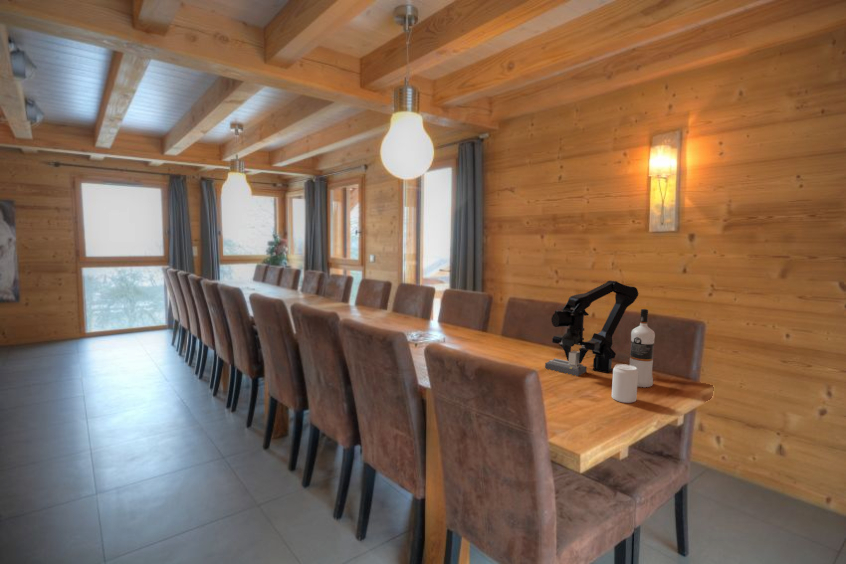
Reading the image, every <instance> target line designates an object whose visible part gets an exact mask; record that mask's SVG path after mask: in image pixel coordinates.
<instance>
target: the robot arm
mask: <svg viewBox="0 0 846 564" xmlns="http://www.w3.org/2000/svg"><path fill="white" fill-rule="evenodd" d="M611 293H615V296H614V298H615V303H614V305H613V307H612V309H611V311H610V313H609V315H608V316H607V319H606V321H605V323H604V325H603V326H602V329H601V331H599V332H598V333H596V332H594V333H593V334H592V337H591V339H590V340H587V341H585V337H584V331H585V327H584V321H585V316H589V315H590V314H589V313H588V312H587V311H586V310H587V309H588V308H589V307H590V306H591V304H592V303H593V302H595V301H597V300H600V299H601V298H603V297H605V296H607V295H609V294H611ZM639 294H640V293H639V291H638V288H637V287H635V286H631V285H625V284H624V283H620V282H618V281H617V280H607V281H606V282H604V283H603V284H601V285H599V286H596V287H595V288H593V289H591V290H589V291H587V292H584V293H578V294H575V295H572V296H569V298H568V300H567V302H566V304H565V305H564V306H563V307H562V309H561V310H556V309H555V311H554V313H553V314H552V317H551V324H552V326H553V327H554V328H560V327H561V328H563V327H564V328H565V327H568V328H567V329H566V333H564V334H563V335H562V334H556V335H554V336H552V338H551V343H553V344H559V347H561V348H562V349H563V351H564V355H565V357H566V361H569V352H571V351H572V347H574V346H575V345H576V346H581V347H579V348H578V350H579V352H580V356H579V363H580V364H582V362H583V361H584V359H585V357H586V354H587V352H588V351H591V352H592V354H593V355H594V358H593V365H592V370H594V371H597V372H601V373H607V374H608V373H610V372H611V371H612V372H613V368H612V365H613V363H612V361H613V359H615V357H616V355H617V354H616V352H615V351H614V350H613V349H612V346H613V336H614V333H615V331H616V329H617V328H618V326H619V323H620V321H621V320H622V318H623V316H624V314H625V312H626V310H627V308H628V307H629V306H631V305H632V304H633V303H634V302H636V300H637V299H638V296H639Z"/></svg>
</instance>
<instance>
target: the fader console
mask: <svg viewBox="0 0 846 564" xmlns="http://www.w3.org/2000/svg"><path fill="white" fill-rule="evenodd" d="M568 362H569V361H567V360H565V359H559V358H553V359H550V360H548V361H546V362H545V363H544V369H545V368H546V369H545V370H549V369H551V370H550V371H553V370H555V371H554V372H557V371H559V373H562V372H564V373H563V374H566V373H568V374H567V375H570V374H572V375H571V376H574V375H576V376H575V377H580V376H582V375H583V373H584V374H586V373H587V366H586V365H584V364H583V363H580V364H577V366H575V365H571V364H568ZM585 372H586V373H585ZM581 374H582V375H581ZM579 375H580V376H579Z"/></svg>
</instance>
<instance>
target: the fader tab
mask: <svg viewBox="0 0 846 564" xmlns="http://www.w3.org/2000/svg"><path fill="white" fill-rule="evenodd" d="M579 356H580V351H578V350H571V352H569V362H568V364H571V365H575V366H577V364H581V363H579Z"/></svg>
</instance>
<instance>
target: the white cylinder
mask: <svg viewBox="0 0 846 564" xmlns="http://www.w3.org/2000/svg"><path fill="white" fill-rule="evenodd" d="M612 369H613V370H612V380H611V381H612V384H611V398H612V399H613V400H615V401H617V402H620V403H623V404H632V403H635V402H636V401H637V395H638V387H637V383H638V371H637V368H636V367H634V366H631V365H630V364H625V363H624V364H623V363H617V364H615V365H614V367H613V368H612Z"/></svg>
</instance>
